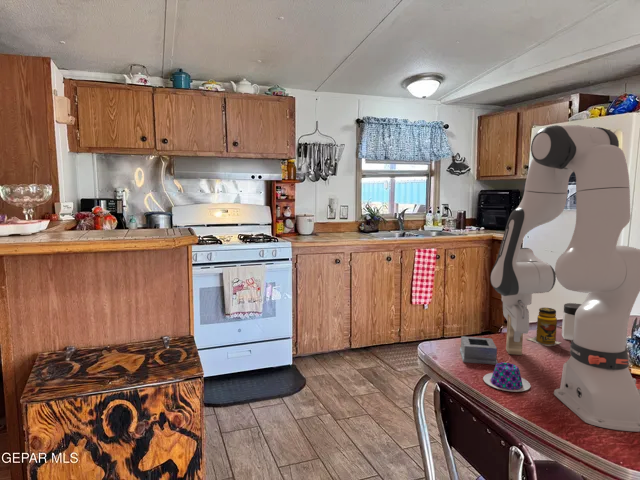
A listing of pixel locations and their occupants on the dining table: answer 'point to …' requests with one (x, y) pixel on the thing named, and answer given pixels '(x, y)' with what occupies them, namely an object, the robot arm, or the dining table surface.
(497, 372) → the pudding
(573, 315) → the jar
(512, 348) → the wooden peg
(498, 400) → the dining table surface
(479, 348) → the socket holder
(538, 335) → the condiment
